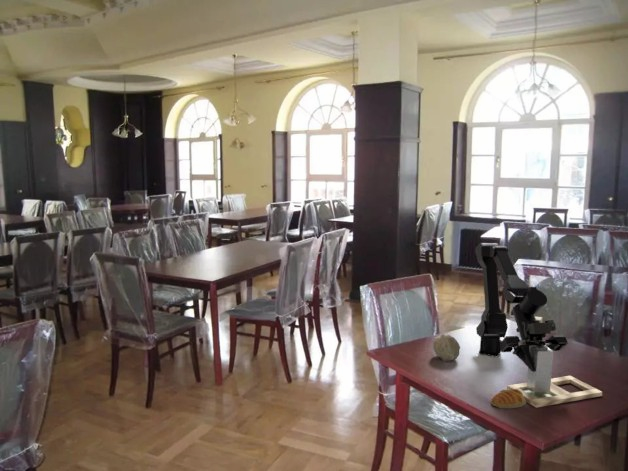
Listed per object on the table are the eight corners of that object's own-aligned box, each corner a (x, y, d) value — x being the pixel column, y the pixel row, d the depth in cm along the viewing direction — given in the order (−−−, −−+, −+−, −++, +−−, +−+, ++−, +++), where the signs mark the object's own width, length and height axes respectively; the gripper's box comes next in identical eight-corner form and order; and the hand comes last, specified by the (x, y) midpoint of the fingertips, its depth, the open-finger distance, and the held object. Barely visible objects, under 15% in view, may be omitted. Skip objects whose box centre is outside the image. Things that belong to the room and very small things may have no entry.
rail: (535, 407, 143) (536, 403, 143) (506, 389, 154) (507, 385, 154) (602, 395, 151) (602, 391, 151) (569, 379, 162) (570, 375, 162)
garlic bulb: (457, 368, 175) (467, 345, 171) (434, 365, 174) (444, 342, 170) (448, 350, 184) (458, 328, 180) (426, 347, 182) (435, 325, 178)
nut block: (526, 387, 153) (530, 343, 151) (541, 387, 153) (545, 343, 151) (534, 394, 148) (538, 349, 146) (549, 394, 149) (553, 349, 146)
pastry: (502, 413, 140) (503, 400, 140) (484, 402, 146) (485, 390, 146) (527, 406, 144) (528, 393, 144) (509, 396, 150) (509, 384, 150)
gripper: (506, 310, 150) (522, 361, 141) (567, 309, 152) (586, 359, 143) (493, 327, 159) (506, 376, 150) (551, 326, 161) (568, 374, 152)
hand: (542, 371), depth 148 cm, fingers closed on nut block, 5 cm apart
